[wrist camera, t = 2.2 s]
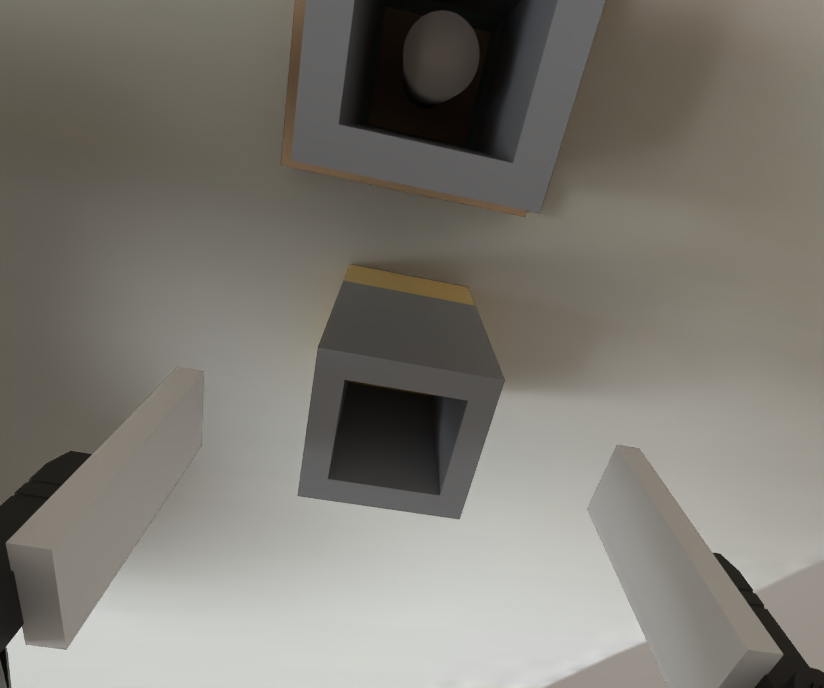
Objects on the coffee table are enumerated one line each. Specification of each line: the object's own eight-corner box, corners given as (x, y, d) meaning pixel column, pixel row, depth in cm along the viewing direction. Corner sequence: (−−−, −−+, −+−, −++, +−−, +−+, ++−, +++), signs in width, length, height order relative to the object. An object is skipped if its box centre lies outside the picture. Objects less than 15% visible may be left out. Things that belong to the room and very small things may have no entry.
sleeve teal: (481, 175, 19) (539, 213, 11) (340, 144, 18) (290, 160, 10) (522, 9, 17) (636, -101, 9) (364, -32, 16) (324, -192, 8)
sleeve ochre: (333, 370, 24) (297, 495, 16) (349, 264, 22) (318, 347, 14) (440, 389, 25) (459, 519, 17) (467, 287, 23) (504, 380, 14)
